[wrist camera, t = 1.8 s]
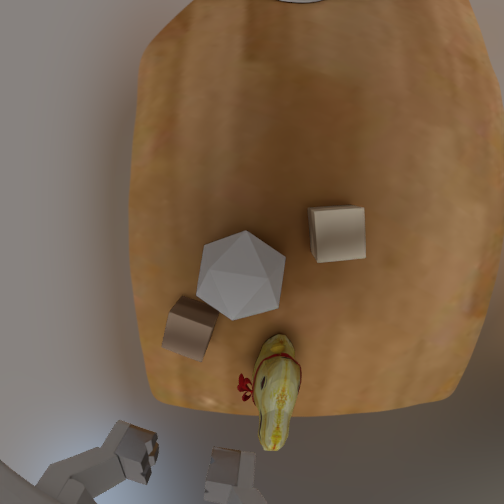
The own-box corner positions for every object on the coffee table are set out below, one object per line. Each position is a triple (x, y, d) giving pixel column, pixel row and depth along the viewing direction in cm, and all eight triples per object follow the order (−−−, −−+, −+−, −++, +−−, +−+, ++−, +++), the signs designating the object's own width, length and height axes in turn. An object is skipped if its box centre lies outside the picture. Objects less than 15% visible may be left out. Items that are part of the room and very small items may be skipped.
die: (196, 239, 33) (171, 314, 27) (243, 197, 27) (222, 283, 21) (251, 272, 37) (239, 344, 30) (302, 241, 31) (299, 324, 25)
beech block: (307, 207, 31) (314, 211, 26) (350, 204, 30) (364, 207, 26) (310, 251, 32) (317, 262, 27) (352, 247, 31) (365, 257, 27)
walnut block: (182, 295, 34) (169, 311, 29) (220, 308, 34) (212, 327, 29) (174, 327, 35) (161, 347, 30) (209, 341, 35) (201, 362, 30)
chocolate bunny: (304, 327, 34) (321, 410, 19) (284, 391, 36) (287, 476, 22) (250, 317, 34) (236, 400, 19) (236, 384, 37) (221, 468, 22)
